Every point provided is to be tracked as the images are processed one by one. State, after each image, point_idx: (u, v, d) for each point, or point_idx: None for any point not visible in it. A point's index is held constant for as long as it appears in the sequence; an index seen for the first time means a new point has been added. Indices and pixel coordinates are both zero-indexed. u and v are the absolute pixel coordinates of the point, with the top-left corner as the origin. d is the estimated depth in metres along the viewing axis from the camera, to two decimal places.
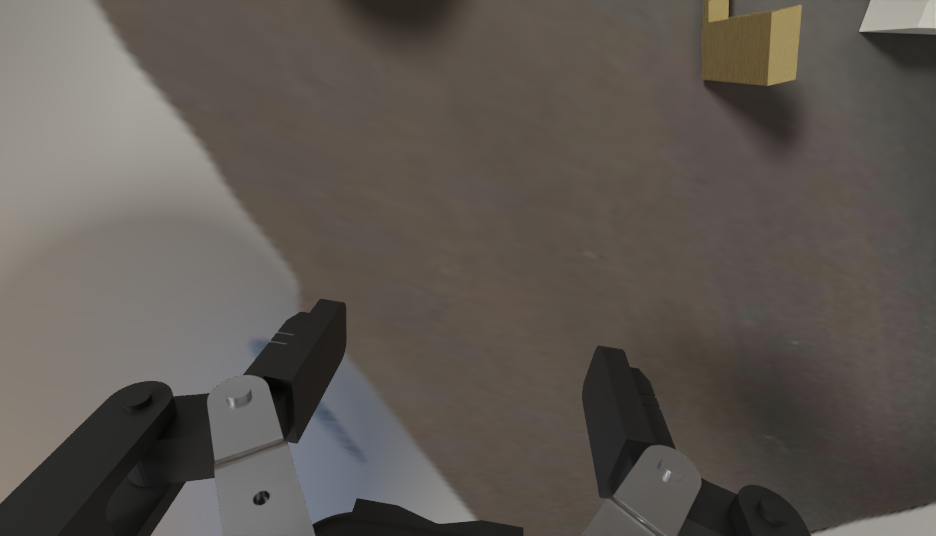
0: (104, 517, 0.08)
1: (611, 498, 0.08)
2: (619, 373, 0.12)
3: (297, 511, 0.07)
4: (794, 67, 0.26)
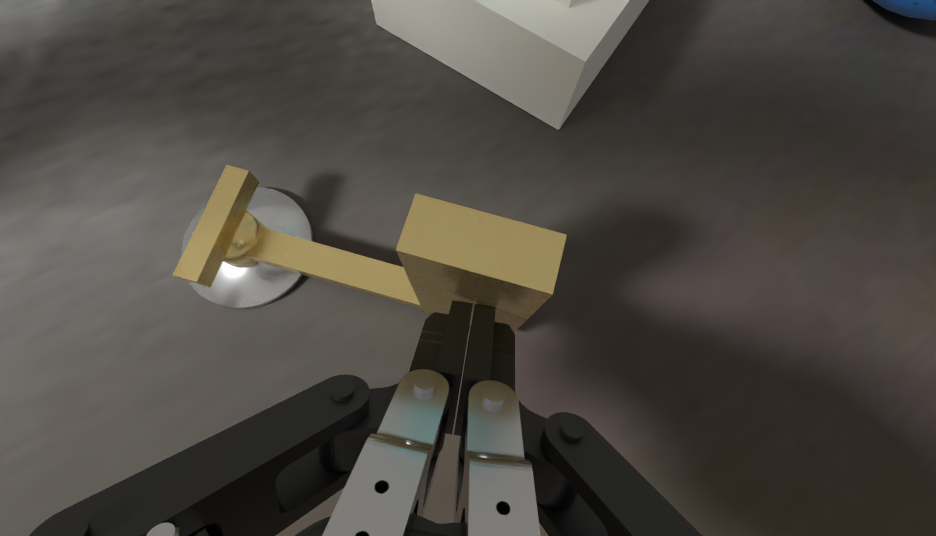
0: (275, 482, 0.09)
1: (471, 456, 0.08)
2: (482, 325, 0.13)
3: (398, 520, 0.07)
4: (538, 231, 0.11)
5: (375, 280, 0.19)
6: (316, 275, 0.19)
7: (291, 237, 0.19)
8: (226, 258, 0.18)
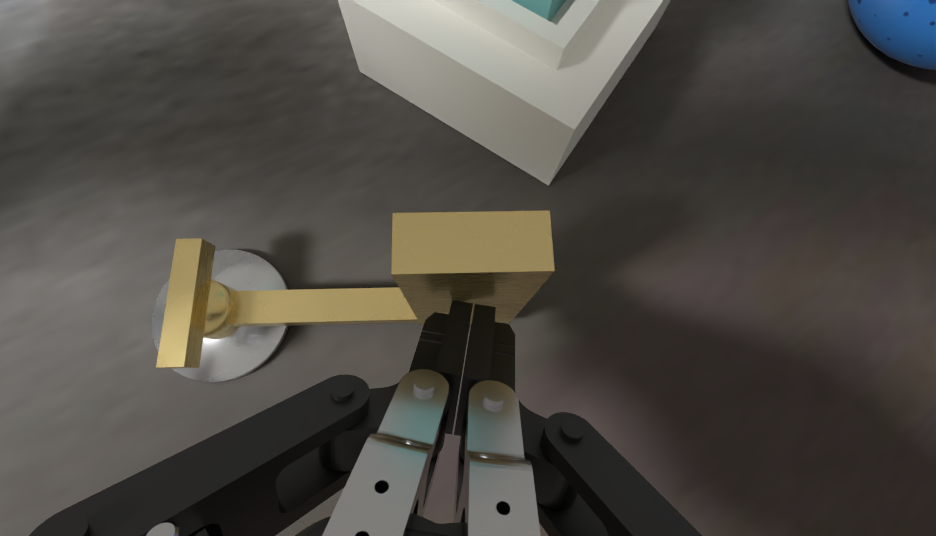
0: (274, 482, 0.09)
1: (471, 456, 0.08)
2: (482, 325, 0.13)
3: (398, 520, 0.07)
4: (522, 215, 0.11)
5: (364, 308, 0.18)
6: (304, 322, 0.18)
7: (266, 292, 0.18)
8: (206, 333, 0.18)
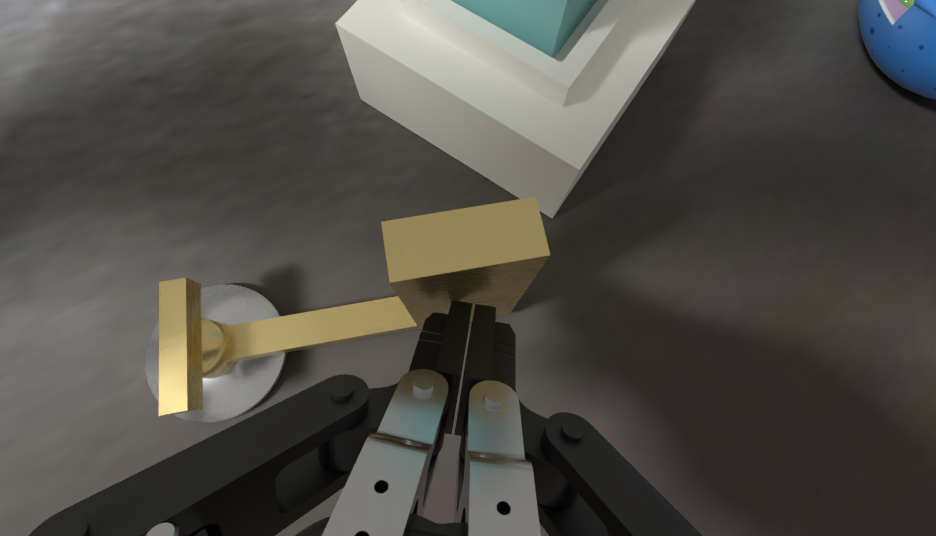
0: (274, 482, 0.09)
1: (472, 456, 0.08)
2: (482, 325, 0.13)
3: (397, 520, 0.07)
4: (510, 205, 0.11)
5: (362, 323, 0.18)
6: (303, 346, 0.18)
7: (259, 322, 0.18)
8: (204, 373, 0.17)
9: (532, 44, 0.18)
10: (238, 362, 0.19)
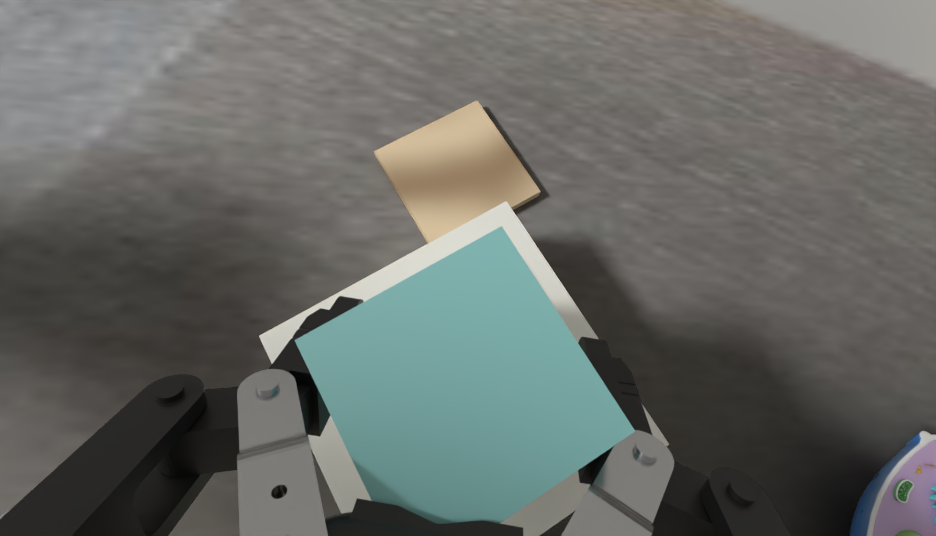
0: (132, 505, 0.08)
1: (592, 487, 0.08)
2: (600, 362, 0.12)
3: (312, 508, 0.07)
4: None
5: None
6: None
7: None
8: None
9: None
10: None
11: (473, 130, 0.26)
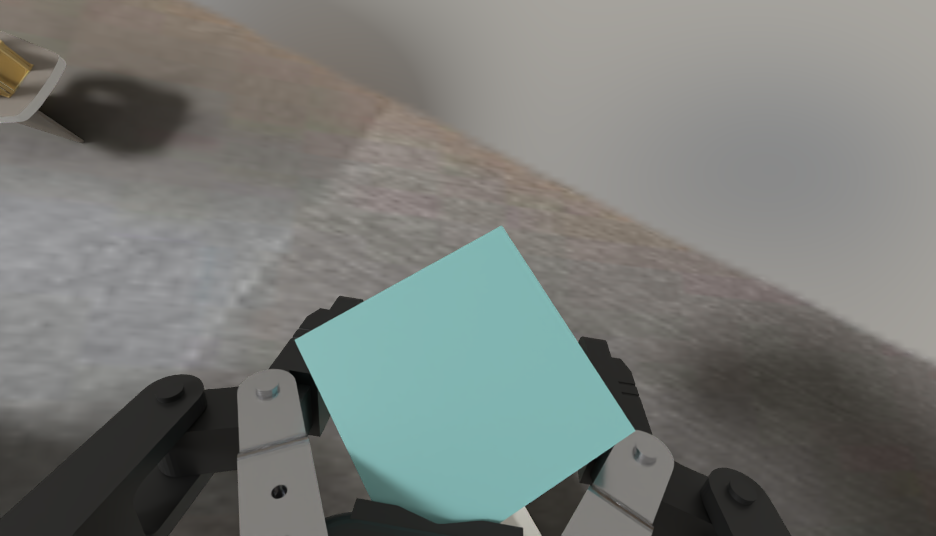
0: (132, 505, 0.08)
1: (591, 487, 0.08)
2: (600, 362, 0.12)
3: (312, 508, 0.07)
4: None
5: None
6: None
7: None
8: None
9: None
10: None
11: None
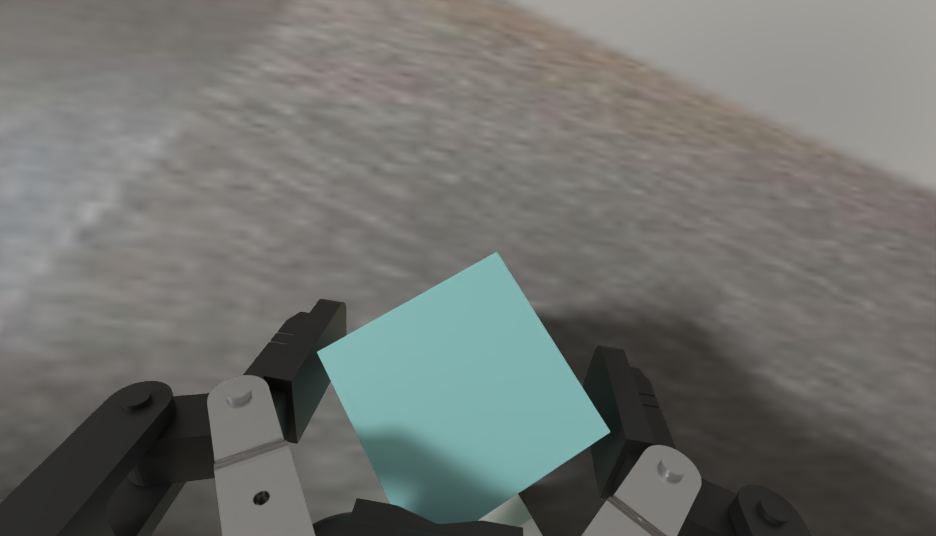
0: (104, 517, 0.08)
1: (611, 498, 0.08)
2: (619, 373, 0.12)
3: (297, 511, 0.07)
4: None
5: None
6: None
7: None
8: None
9: None
10: None
11: None
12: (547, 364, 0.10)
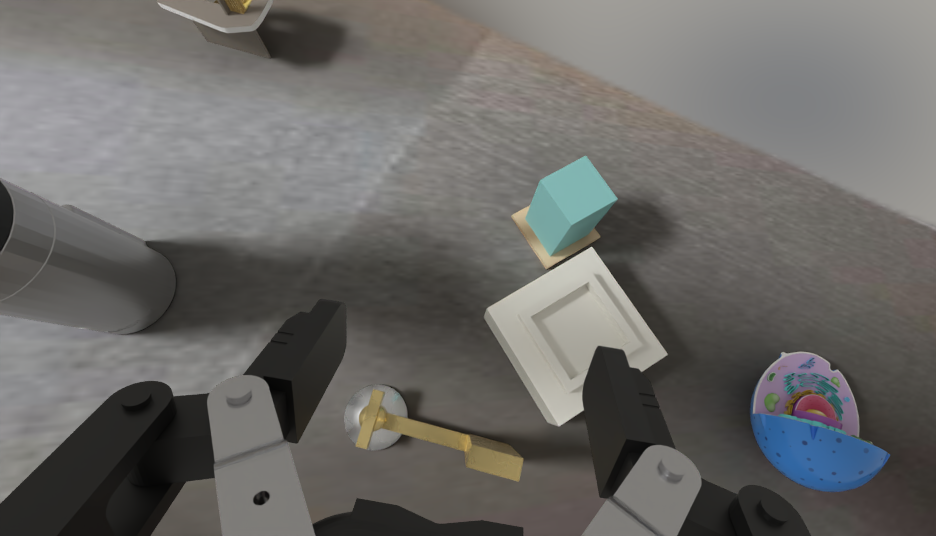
0: (104, 517, 0.08)
1: (611, 498, 0.08)
2: (619, 373, 0.12)
3: (297, 511, 0.07)
4: (514, 457, 0.32)
5: (442, 438, 0.40)
6: (414, 436, 0.40)
7: (401, 417, 0.40)
8: (373, 431, 0.40)
9: (546, 247, 0.46)
10: None
11: None
12: (601, 183, 0.39)
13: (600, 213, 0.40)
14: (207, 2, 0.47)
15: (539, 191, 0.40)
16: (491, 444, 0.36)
